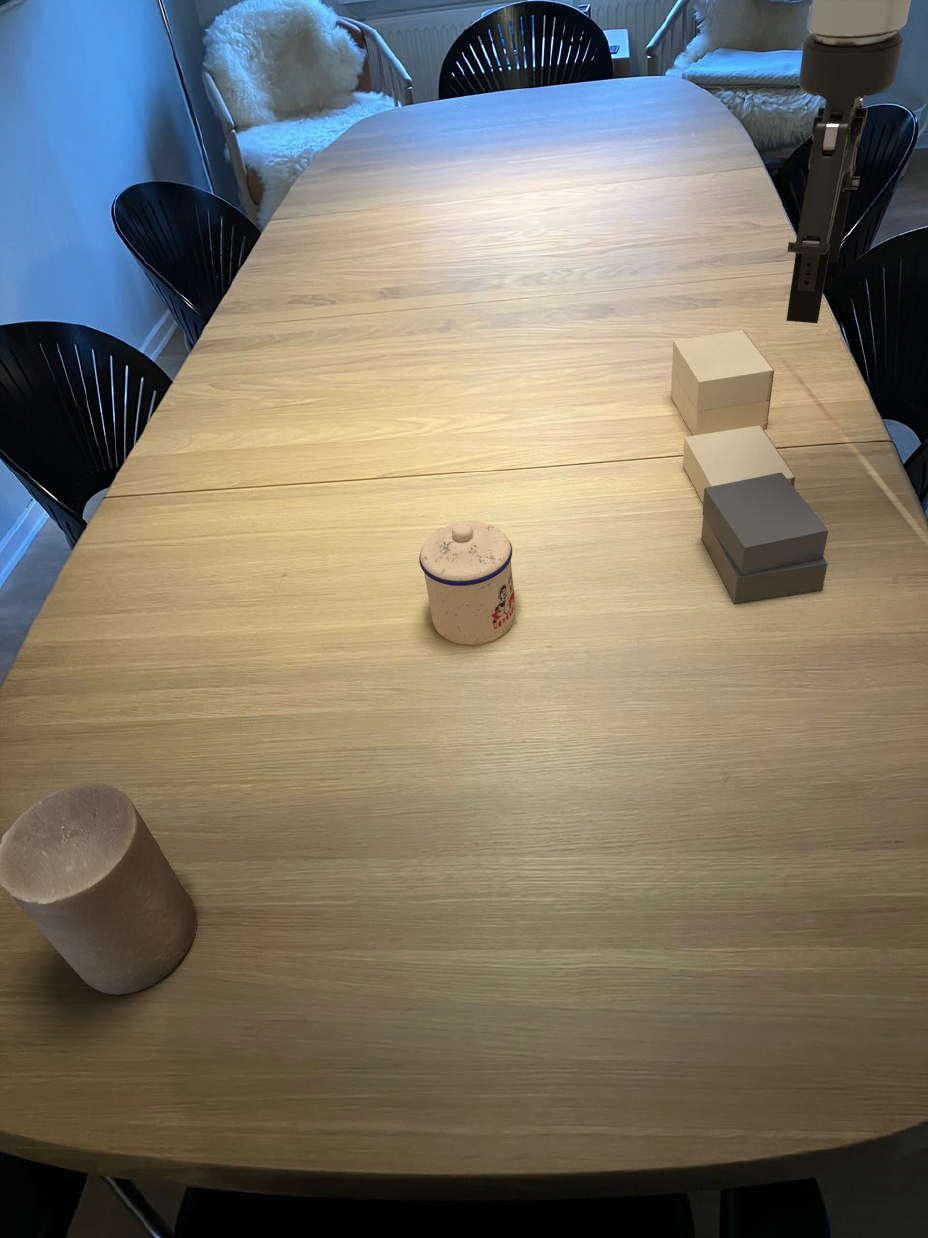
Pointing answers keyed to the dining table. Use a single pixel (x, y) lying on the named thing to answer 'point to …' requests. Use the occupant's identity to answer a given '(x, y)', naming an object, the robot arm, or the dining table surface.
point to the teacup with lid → (469, 582)
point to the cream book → (731, 457)
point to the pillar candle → (98, 887)
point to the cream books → (721, 382)
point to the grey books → (763, 538)
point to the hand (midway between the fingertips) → (813, 288)
